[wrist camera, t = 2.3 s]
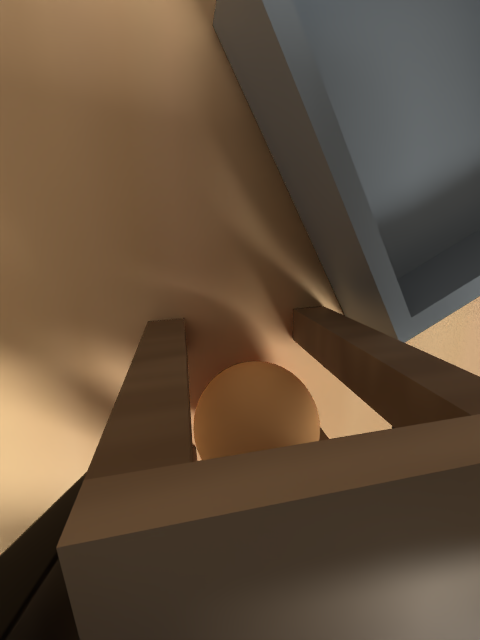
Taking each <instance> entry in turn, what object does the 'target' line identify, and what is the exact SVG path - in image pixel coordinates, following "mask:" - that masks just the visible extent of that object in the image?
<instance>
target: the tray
mask: <svg viewBox="0 0 480 640" xmlns="http://www.w3.org/2000/svg"><path fill="white" fill-rule="evenodd" d="M213 27H214V29H215V32H216V34H217V36H218V38H219V40H220V43H221V45H222V47H223V49H224V51H225V54H226V56H227V58H228V60H229V62H230V65H231V67H232V69H233V71H234V73H235V75H236V78H237V80H238V82H239V84H240V86H241V89H242V91H243V93H244V95H245V97H246V100H247V102H248V104H249V106H250V108H251V111H252V113H253V115H254V117H255V119H256V122H257V124H258V126H259V128H260V130H261V133H262V135H263V137H264V139H265V141H266V143H267V146H268V148H269V150H270V152H271V154H272V157H273V159H274V161H275V163H276V165H277V168H278V170H279V172H280V174H281V176H282V179H283V181H284V183H285V185H286V187H287V190H288V192H289V194H290V196H291V198H292V201H293V203H294V205H295V207H296V209H297V211H298V214H299V216H300V218H301V220H302V222H303V225H304V227H305V229H306V231H307V233H308V236H309V238H310V240H311V242H312V244H313V247H314V249H315V251H316V253H317V255H318V258H319V260H320V262H321V264H322V266H323V269H324V271H325V273H326V275H327V277H328V279H329V282H330V284H331V286H332V288H333V290H334V293H335V295H336V297H337V299H338V301H339V304H340V306H341V308H342V310H343V312H344V315H345V316H346V317H348V318H351V319H353V320H355V321H357V322H359V323H362V324H364V325H366V326H368V327H370V328H373V329H375V330H377V331H379V332H382V333H384V334H386V335H388V336H390V337H393V338H395V339H397V340H399V341H401V342H404V343H405V342H406V341H408V340H410V339H411V338H413V337H415V336H416V335H418V334H419V333H421V332H423V331H424V330H426V329H427V328H429V327H431V326H432V325H434V324H435V323H437V322H439V321H440V320H442V319H444V318H445V317H447V316H448V315H450V314H452V313H453V312H455V311H456V310H458V309H460V308H461V307H463V306H464V305H466V304H468V303H469V302H471V301H473V300H474V299H476V298H477V297H479V296H480V0H216V6H215V12H214V19H213Z"/></svg>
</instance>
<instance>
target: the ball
mask: <svg viewBox="0 0 480 640" xmlns="http://www.w3.org/2000/svg"><path fill="white" fill-rule="evenodd" d="M319 437H320V422H319V415H318V411H317V407H316V405H315V402H314V400H313V398H312V396H311V394H310V392H309V391H308V389H307V388H306V386H305V385H304V384H303V383H302V382H301V381H300V380H299V379H298V378H297V377H296V376H295V375H294V374H292V373H291V372H289V371H288V370H286V369H284V368H283V367H280V366H278V365H276V364H272V363H268V362H261V361H250V362H243V363H239V364H236V365H234V366H231V367H229V368H227V369H225V370H224V371H222V372H221V373H219V374H218V375H217V376H216V377H215V378H213V379H212V381H211V382H210V383H209V384H208V385H207V387H206V388H205V390H204V391H203V393H202V395H201V397H200V399H199V401H198V404H197V407H196V411H195V416H194V438H195V443H196V447H197V450H198V452H199V455H200V457H201V459H202V460H207V459H213V458H219V457H225V456H231V455H237V454H243V453H249V452H255V451H261V450H267V449H273V448H279V447H285V446H291V445H297V444H303V443H309V442H315V441H319Z"/></svg>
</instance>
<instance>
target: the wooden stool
mask: <svg viewBox="0 0 480 640" xmlns="http://www.w3.org/2000/svg"><path fill="white" fill-rule="evenodd" d="M293 340H294V341H295V342H296V343H298V344H299V345H300V346H301V347H302V348H303V349H305V350H306V351H307V352H308V353H309V354H310V355H311V356H313V357H314V358H315V359H316V360H317V361H318V362H319V363H321V364H322V365H323V366H324V367H325V368H326V369H328V370H329V371H330V372H331V373H332V374H333V375H334V376H336V377H337V378H338V379H339V380H340V381H341V382H342V383H344V384H345V385H346V386H347V387H348V388H349V389H351V390H352V391H353V392H354V393H355V394H356V395H357V396H359V397H360V398H361V399H362V400H363V401H364V402H365V403H367V404H368V405H369V406H370V407H371V408H372V409H373V410H375V411H376V412H377V413H378V414H379V415H380V416H382V417H383V418H384V419H385V420H386V421H387V422H388V423H390V424H391V425H392V426H393V427H394V428H393V429H387V430H381V431H375V432H369V433H363V434H357V435H351V436H345V437H339V438H333V439H329V438H328V437H327V436H326V434H325V433H324V432H323V430H322V429H321V428H320V437H319V441H315V442H309V443H303V444H297V445H291V446H285V447H279V448H273V449H267V450H261V451H255V452H249V453H243V454H237V455H231V456H225V457H219V458H213V459H207V460H201V461H197V454H196V447H192V430H191V413H190V395H189V378H188V360H187V346H186V335H185V324H184V318H183V319H171V320H160V321H148V323H147V326H146V328H145V331H144V333H143V336H142V338H141V341H140V343H139V345H138V348H137V350H136V353H135V355H134V358H133V360H132V363H131V365H130V368H129V370H128V373H127V375H126V377H125V380H124V382H123V385H122V387H121V390H120V392H119V395H118V397H117V400H116V402H115V404H114V407H113V409H112V412H111V414H110V417H109V419H108V422H107V424H106V427H105V429H104V432H103V434H102V436H101V439H100V441H99V444H98V446H97V449H96V451H95V454H94V456H93V459H92V461H91V463H90V466H89V468H88V471H87V473H86V476H85V478H84V481H83V483H82V486H81V488H80V490H79V493H78V495H77V498H76V500H75V503H74V505H73V508H72V510H71V513H70V515H69V518H68V520H67V522H66V525H65V527H64V530H63V532H62V535H61V537H60V540H59V542H58V545H57V547H56V549H57V553H58V557H59V561H60V565H61V569H62V572H63V576H64V580H65V584H66V588H67V592H68V596H69V599H70V603H71V607H72V611H73V615H74V619H75V623H76V627H77V630H78V634H79V638H80V640H480V377H479V376H477V375H475V374H472V373H470V372H468V371H466V370H463V369H461V368H459V367H457V366H455V365H452V364H450V363H448V362H446V361H444V360H441V359H439V358H437V357H435V356H432V355H430V354H428V353H426V352H424V351H421V350H419V349H417V348H415V347H413V346H410V345H408V344H406V343H404V342H401V341H399V340H397V339H395V338H393V337H390V336H388V335H386V334H384V333H382V332H379V331H377V330H375V329H373V328H370V327H368V326H366V325H364V324H362V323H359V322H357V321H355V320H353V319H351V318H348V317H346V316H344V315H342V314H339V313H337V312H335V311H333V310H331V309H328V308H326V307H324V306H322V307H311V308H299V309H293Z"/></svg>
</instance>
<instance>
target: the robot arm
mask: <svg viewBox="0 0 480 640" xmlns="http://www.w3.org/2000/svg"><path fill="white" fill-rule="evenodd" d="M393 428H394V427H393V426H392V429H393ZM86 473H87V472H86ZM86 473H85V474H84V475H83V476H82V477H81V478H80V479H79V480H78V481H77V482H76V483H75V484H74V485H73V486H72V487H71V488H69V489H68V490H67V491H66V492H65V493H64V494H63V495H62V496H61V497H60V498H59V499H58V500H57V501H56V502H55V503H54V504H53V505H52V506H51V507H50V508H49V509H48V510H47V511H46V512H45V513H44V514H43V515H42V516H40V517H39V518H38V519H37V520H36V521H35V522H34V523H33V524H32V525H31V526H30V527H29V528H28V529H27V530H26V531H25V532H24V533H23V534H22V535H21V536H20V537H19V538H18V539H17V540H16V541H15V542H14V543H12V544H11V545H10V546H9V547H8V548H7V549H6V550H5V551H4V552H3V553H2V554H1V555H0V640H80V638H79V634H78V630H77V627H76V623H75V619H74V615H73V611H72V607H71V603H70V599H69V596H68V592H67V588H66V584H65V580H64V576H63V572H62V569H61V565H60V561H59V557H58V553H57V549H56V547H57V545H58V542H59V540H60V537H61V535H62V532H63V530H64V527H65V525H66V522H67V520H68V518H69V515H70V513H71V510H72V508H73V505H74V503H75V500H76V498H77V495H78V493H79V490H80V488H81V486H82V483H83V481H84V478H85V476H86Z"/></svg>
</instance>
